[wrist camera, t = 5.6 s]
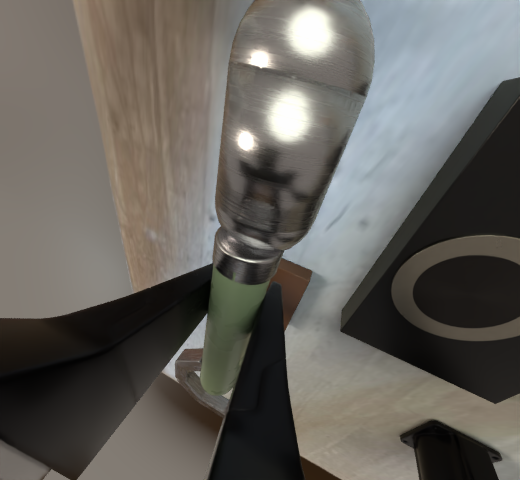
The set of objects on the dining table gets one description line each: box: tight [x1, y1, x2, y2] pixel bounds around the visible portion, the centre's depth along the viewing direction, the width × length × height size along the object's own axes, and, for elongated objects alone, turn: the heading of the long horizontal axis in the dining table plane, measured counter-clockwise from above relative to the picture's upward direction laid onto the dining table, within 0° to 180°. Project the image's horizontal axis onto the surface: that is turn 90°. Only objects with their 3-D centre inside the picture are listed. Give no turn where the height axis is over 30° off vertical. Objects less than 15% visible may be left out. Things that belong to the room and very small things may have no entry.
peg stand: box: [266, 258, 312, 332], centre depth 19 cm, size 8×8×8 cm
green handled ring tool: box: [175, 0, 375, 418], centre depth 10 cm, size 21×6×4 cm, turn 167°
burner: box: [391, 234, 520, 341], centre depth 13 cm, size 8×8×1 cm
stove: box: [340, 77, 520, 404], centre depth 13 cm, size 18×14×3 cm
